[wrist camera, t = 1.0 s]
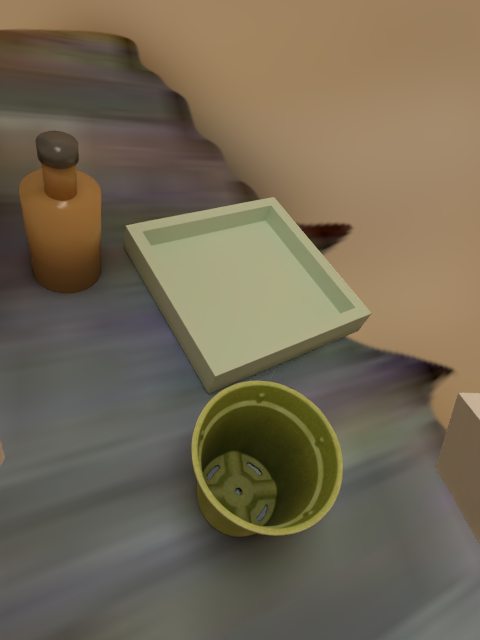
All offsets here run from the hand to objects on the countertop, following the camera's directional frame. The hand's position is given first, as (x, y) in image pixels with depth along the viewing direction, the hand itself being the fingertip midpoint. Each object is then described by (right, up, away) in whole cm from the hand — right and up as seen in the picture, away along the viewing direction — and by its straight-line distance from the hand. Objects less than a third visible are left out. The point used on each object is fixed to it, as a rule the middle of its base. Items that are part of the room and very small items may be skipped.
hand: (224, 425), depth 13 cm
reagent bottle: (-16, +8, +29) cm, 34 cm away
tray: (+1, +6, +33) cm, 33 cm away
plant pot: (0, -10, +21) cm, 23 cm away
